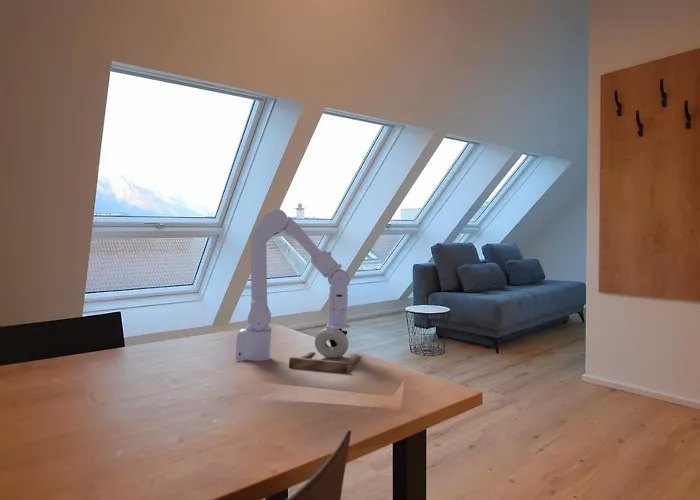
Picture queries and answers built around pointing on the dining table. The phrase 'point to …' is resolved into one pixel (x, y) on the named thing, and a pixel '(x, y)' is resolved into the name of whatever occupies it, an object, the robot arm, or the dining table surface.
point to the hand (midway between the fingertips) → (336, 355)
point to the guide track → (321, 364)
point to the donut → (327, 350)
